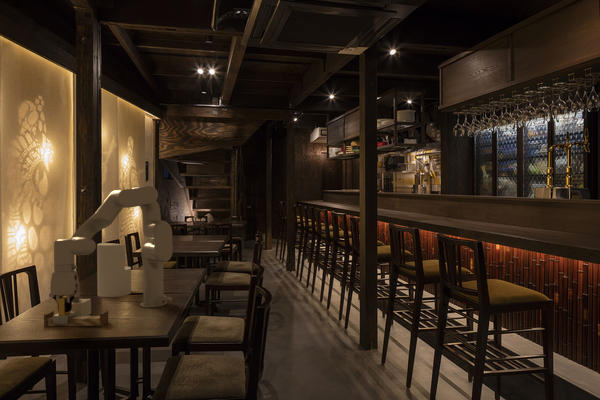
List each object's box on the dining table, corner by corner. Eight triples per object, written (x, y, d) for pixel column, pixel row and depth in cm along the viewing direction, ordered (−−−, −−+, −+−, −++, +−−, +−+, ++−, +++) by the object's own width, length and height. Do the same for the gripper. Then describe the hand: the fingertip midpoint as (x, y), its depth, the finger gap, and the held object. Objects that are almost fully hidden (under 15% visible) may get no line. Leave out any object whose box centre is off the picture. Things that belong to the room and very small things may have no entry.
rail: (108, 322, 177) (108, 310, 177) (102, 325, 172) (102, 314, 172) (51, 322, 177) (51, 311, 177) (44, 326, 172) (43, 314, 172)
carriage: (76, 319, 178) (75, 295, 178) (67, 324, 171) (67, 299, 171) (62, 319, 178) (61, 295, 177) (53, 324, 171) (52, 299, 171)
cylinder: (111, 298, 218) (110, 246, 218) (90, 295, 227) (90, 244, 227) (138, 292, 233) (137, 242, 233) (118, 288, 242) (117, 241, 242)
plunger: (82, 306, 187) (81, 292, 187) (77, 309, 183) (77, 293, 183) (74, 307, 187) (73, 292, 187) (69, 309, 183) (69, 293, 183)
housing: (91, 313, 190) (90, 298, 190) (80, 320, 180) (80, 304, 180) (71, 314, 190) (71, 299, 190) (59, 320, 180) (59, 304, 180)
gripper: (87, 266, 178) (88, 308, 178) (50, 266, 178) (50, 309, 178) (78, 269, 170) (79, 313, 171) (39, 269, 170) (40, 314, 170)
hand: (64, 311), depth 174 cm, fingers closed on carriage, 2 cm apart
